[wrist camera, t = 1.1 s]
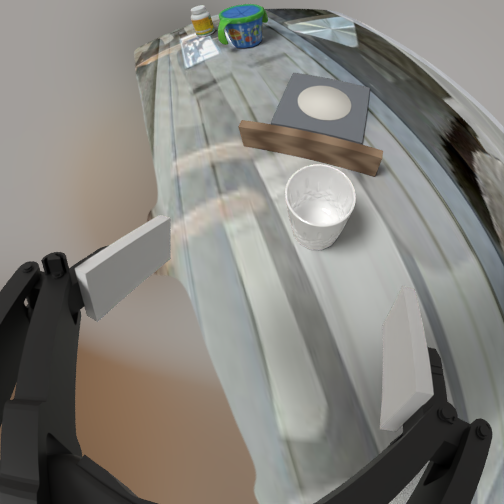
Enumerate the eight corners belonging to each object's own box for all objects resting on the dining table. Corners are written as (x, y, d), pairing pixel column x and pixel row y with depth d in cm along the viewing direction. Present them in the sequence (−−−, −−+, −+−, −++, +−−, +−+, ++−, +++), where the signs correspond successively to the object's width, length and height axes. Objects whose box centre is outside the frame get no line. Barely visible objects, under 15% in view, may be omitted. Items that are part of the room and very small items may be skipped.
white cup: (296, 197, 41) (294, 157, 32) (347, 210, 39) (360, 173, 30) (281, 246, 39) (276, 216, 30) (336, 261, 37) (349, 234, 28)
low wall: (375, 169, 41) (382, 150, 36) (374, 176, 40) (382, 158, 36) (247, 139, 46) (241, 120, 41) (244, 146, 46) (238, 126, 41)
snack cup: (255, 27, 59) (249, -2, 50) (283, 36, 56) (280, 5, 46) (211, 50, 58) (201, 19, 48) (238, 60, 54) (229, 26, 45)
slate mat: (369, 90, 46) (369, 87, 46) (361, 145, 42) (362, 142, 42) (293, 74, 50) (293, 71, 49) (271, 124, 46) (270, 122, 45)
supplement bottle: (195, 33, 63) (186, 8, 54) (213, 27, 62) (205, 2, 53) (198, 39, 61) (189, 13, 52) (216, 33, 61) (208, 7, 52)
